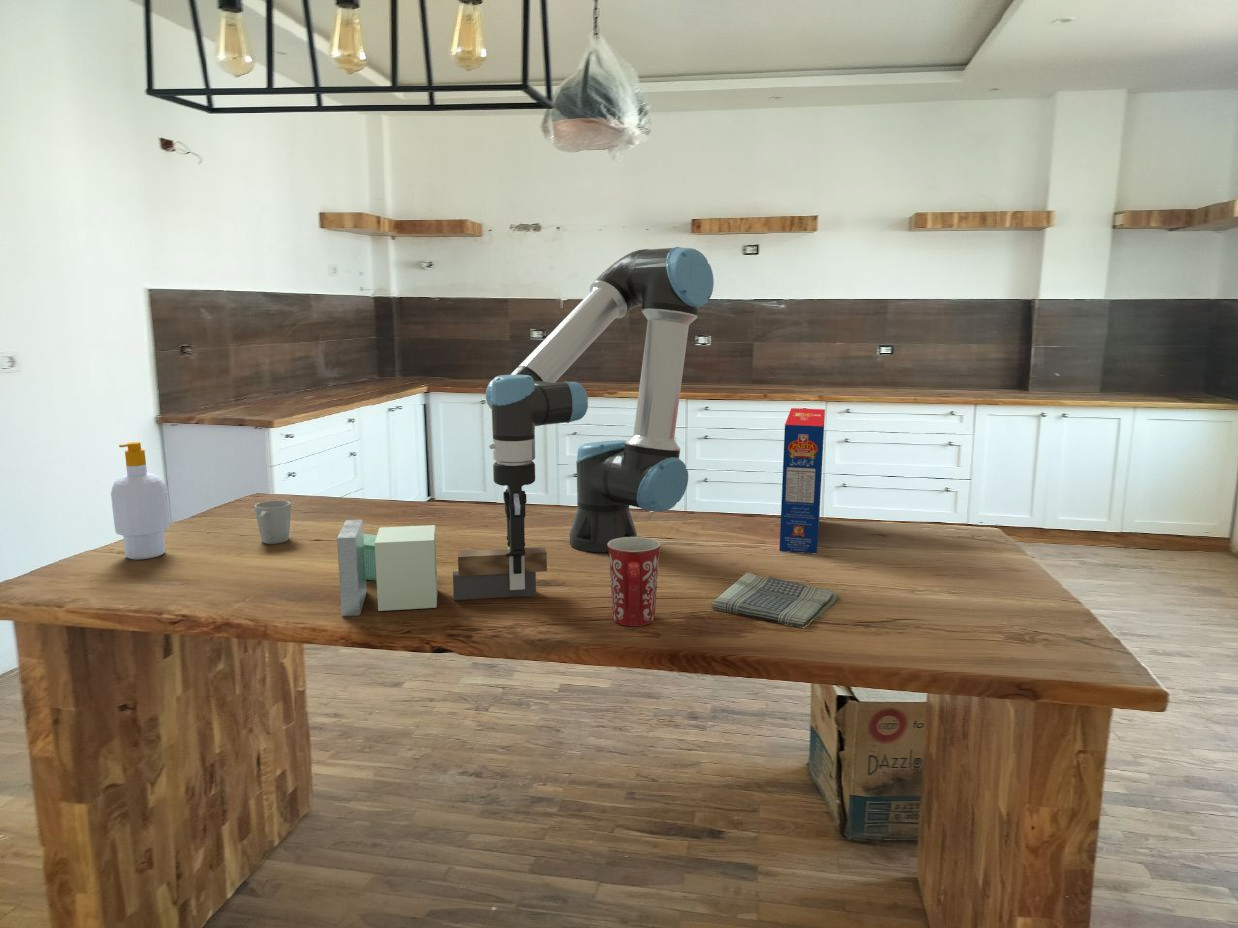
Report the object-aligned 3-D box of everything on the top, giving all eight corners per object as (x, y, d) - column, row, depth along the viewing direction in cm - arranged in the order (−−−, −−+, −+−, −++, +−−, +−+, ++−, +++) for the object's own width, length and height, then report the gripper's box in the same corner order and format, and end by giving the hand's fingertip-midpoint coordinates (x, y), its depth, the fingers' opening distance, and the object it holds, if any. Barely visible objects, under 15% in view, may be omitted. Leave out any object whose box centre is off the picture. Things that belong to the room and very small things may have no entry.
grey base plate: (366, 591, 159) (362, 519, 157) (359, 615, 148) (355, 537, 145) (349, 592, 159) (345, 520, 156) (341, 616, 147) (336, 538, 145)
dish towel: (805, 633, 142) (806, 615, 142) (709, 611, 152) (709, 594, 151) (841, 600, 158) (842, 583, 157) (751, 583, 167) (752, 567, 167)
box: (405, 584, 164) (403, 547, 162) (343, 579, 167) (340, 542, 166) (423, 573, 171) (422, 537, 169) (363, 568, 174) (361, 532, 173)
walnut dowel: (544, 565, 161) (544, 546, 160) (546, 571, 157) (546, 552, 156) (458, 569, 158) (457, 551, 157) (458, 576, 154) (457, 557, 153)
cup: (299, 536, 196) (296, 500, 194) (280, 549, 186) (277, 511, 184) (266, 535, 196) (263, 499, 195) (245, 548, 186) (242, 510, 185)
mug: (608, 608, 152) (608, 535, 149) (659, 609, 151) (660, 536, 149) (603, 636, 139) (603, 557, 137) (659, 637, 139) (660, 558, 136)
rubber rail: (534, 590, 161) (534, 566, 160) (536, 595, 158) (535, 570, 157) (453, 595, 158) (452, 571, 157) (453, 600, 155) (452, 575, 155)
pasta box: (786, 519, 213) (791, 408, 208) (819, 521, 211) (825, 409, 206) (779, 551, 186) (784, 424, 181) (816, 553, 185) (823, 426, 179)
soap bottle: (106, 558, 178) (93, 445, 174) (149, 545, 188) (138, 437, 183) (141, 564, 175) (129, 448, 170) (184, 551, 184) (173, 440, 179)
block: (437, 588, 161) (435, 525, 158) (436, 607, 151) (433, 540, 149) (382, 591, 159) (379, 527, 157) (378, 610, 149) (374, 542, 147)
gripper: (491, 453, 161) (494, 572, 166) (495, 471, 145) (498, 601, 150) (530, 452, 163) (532, 570, 167) (539, 469, 146) (541, 599, 151)
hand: (516, 584), depth 158 cm, fingers closed on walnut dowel, 4 cm apart
